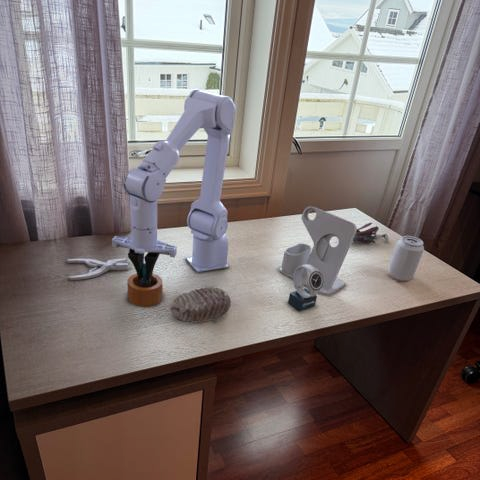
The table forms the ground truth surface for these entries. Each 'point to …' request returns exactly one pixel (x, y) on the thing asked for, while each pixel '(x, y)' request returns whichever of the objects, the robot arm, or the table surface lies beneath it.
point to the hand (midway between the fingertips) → (145, 278)
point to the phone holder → (321, 249)
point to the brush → (144, 278)
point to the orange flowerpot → (145, 291)
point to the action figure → (368, 234)
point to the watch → (305, 297)
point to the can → (406, 258)
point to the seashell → (201, 304)
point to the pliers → (110, 265)
